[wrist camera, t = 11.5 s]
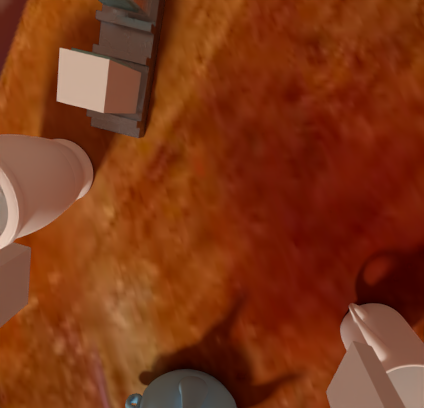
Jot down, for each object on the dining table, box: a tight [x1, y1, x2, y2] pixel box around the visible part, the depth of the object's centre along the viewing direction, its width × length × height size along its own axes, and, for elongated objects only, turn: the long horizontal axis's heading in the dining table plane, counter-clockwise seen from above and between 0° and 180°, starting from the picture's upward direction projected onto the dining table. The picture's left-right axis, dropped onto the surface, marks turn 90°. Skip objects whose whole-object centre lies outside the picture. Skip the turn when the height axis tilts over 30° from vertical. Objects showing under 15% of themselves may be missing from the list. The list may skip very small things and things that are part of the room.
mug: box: [340, 303, 424, 408], centre depth 35 cm, size 9×12×11 cm
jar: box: [0, 134, 93, 249], centre depth 32 cm, size 11×10×15 cm
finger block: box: [57, 48, 141, 114], centre depth 29 cm, size 5×4×8 cm
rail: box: [86, 0, 165, 138], centre depth 29 cm, size 20×6×10 cm, turn 167°
